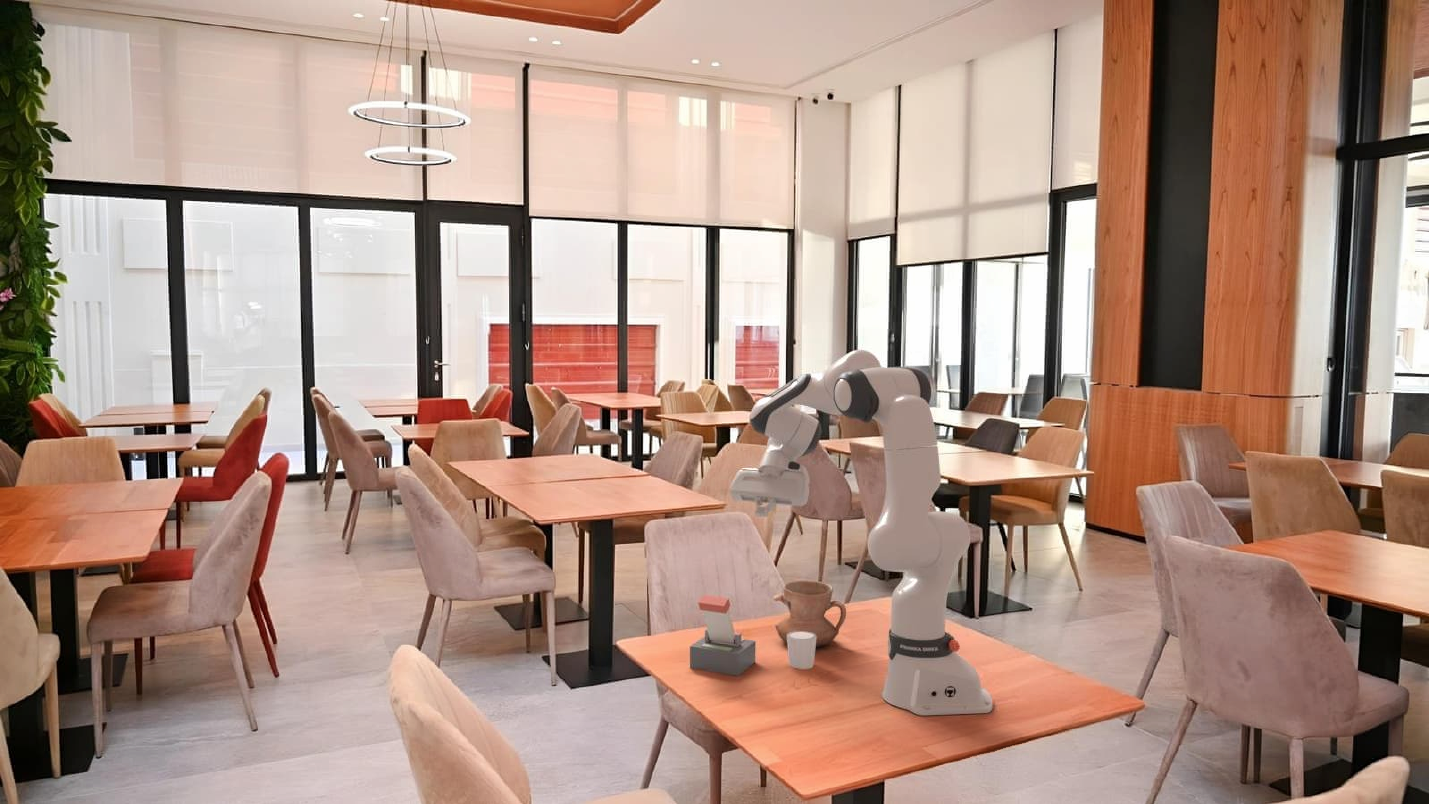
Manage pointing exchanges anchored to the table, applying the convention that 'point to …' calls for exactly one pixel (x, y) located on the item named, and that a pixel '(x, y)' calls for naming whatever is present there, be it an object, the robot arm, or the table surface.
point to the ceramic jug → (809, 610)
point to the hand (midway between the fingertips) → (761, 515)
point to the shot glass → (801, 649)
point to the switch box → (722, 655)
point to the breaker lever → (717, 618)
